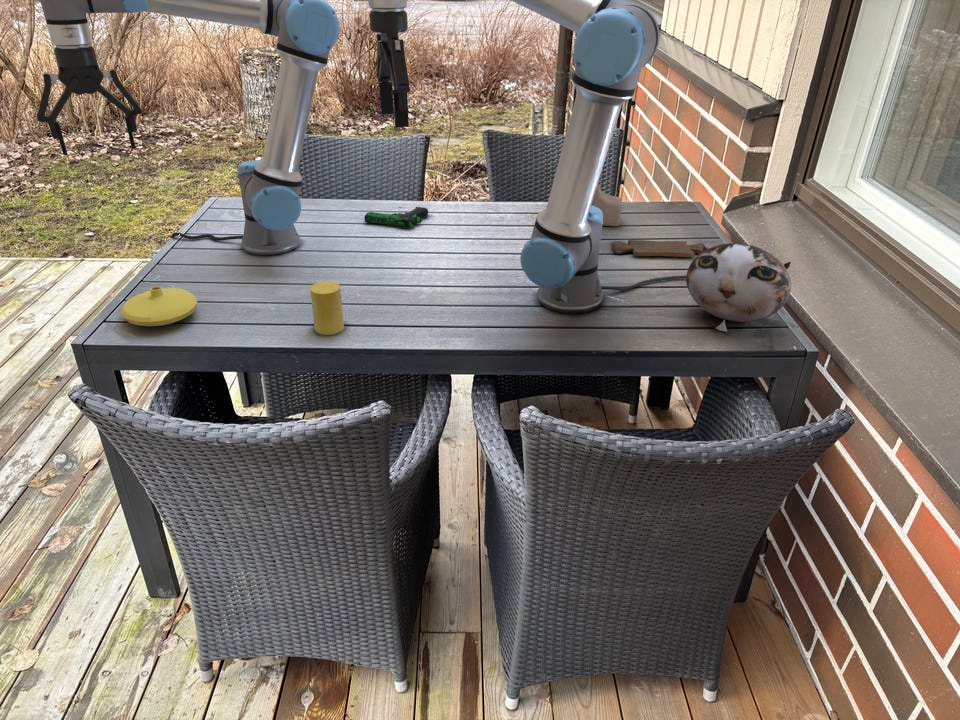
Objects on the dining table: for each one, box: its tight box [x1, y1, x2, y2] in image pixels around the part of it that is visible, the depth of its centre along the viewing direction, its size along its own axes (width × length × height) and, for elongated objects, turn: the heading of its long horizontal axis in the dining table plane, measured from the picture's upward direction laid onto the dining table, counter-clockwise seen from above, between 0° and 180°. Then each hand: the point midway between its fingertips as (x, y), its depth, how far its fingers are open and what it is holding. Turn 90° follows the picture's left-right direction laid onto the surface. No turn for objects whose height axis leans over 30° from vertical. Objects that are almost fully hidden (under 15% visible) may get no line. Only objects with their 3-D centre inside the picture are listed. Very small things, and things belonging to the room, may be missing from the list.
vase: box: [120, 286, 198, 327], centre depth 157 cm, size 16×16×7 cm
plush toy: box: [685, 242, 792, 332], centre depth 158 cm, size 22×18×20 cm
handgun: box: [363, 206, 429, 230], centre depth 215 cm, size 16×3×15 cm
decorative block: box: [591, 180, 623, 227], centre depth 209 cm, size 8×15×30 cm, turn 82°
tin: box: [309, 280, 345, 336], centre depth 154 cm, size 6×6×10 cm
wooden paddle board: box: [611, 239, 706, 258], centre depth 197 cm, size 26×2×10 cm
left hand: (100, 150), depth 157 cm, fingers open, 13 cm apart
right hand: (394, 120), depth 153 cm, fingers open, 13 cm apart
